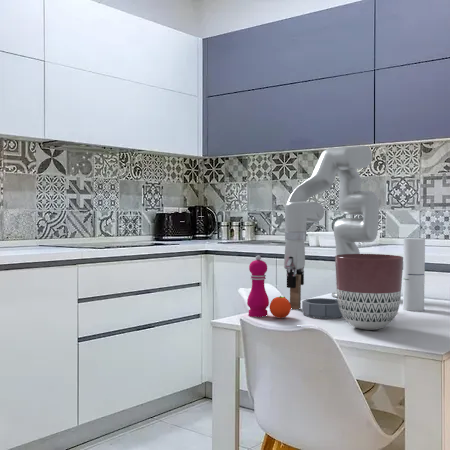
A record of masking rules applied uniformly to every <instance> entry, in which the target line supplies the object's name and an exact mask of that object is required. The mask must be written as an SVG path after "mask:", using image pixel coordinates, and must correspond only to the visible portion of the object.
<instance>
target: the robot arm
mask: <svg viewBox="0 0 450 450" xmlns="http://www.w3.org/2000/svg"><path fill="white" fill-rule="evenodd" d="M372 160H373V153H372V150H371V149H370V147H369V146H366V145H354V146H353V145H352V146H340V147H331V148H326V149H325V150H323V151H322V152H321V153H320V156H319V157H318V160H317V162H316V164H315V166H314V169H313V171H312V172H311V175H310V177H309V178H307V179H306V180H304V181H303V182H302V183H301V184H300V185H298V186H297V187H296V188H295V189H294V190H293V191H292V193H291V194H290V195H289V198H288V200H287V203H285V205H284V220H285V221H284V242H285V244H284V245H285V246H284V247H285V248H284V261H283V267H284V270H286V288H288V289H290V288H296V276H295V274H296V275H301V286H303V285H304V284H305V277H304V276H305V270H304V269H305V266H306V251H305V250H306V247H305V246H306V245H305V242H307V224H308V223H318V222H320V221H321V220H322V219H323V218H324V216H325V208H324V206H323V205H322V204H321V203H320V202H318V201H308V200H309V199H310V198H312V197H315V196H317V195H320V194H322V193H324V192H326V191H329V190H330V189H331V188H332V186H333V184H334V181H335V179H336V177H337V176H338V179H339V191H338V192H339V194H338V209H339V212H340V213H341V214H344V215H348V216H349V215H350V216H351V215H352V216H353V215H355V216H356V215H357V216H362V218H360V217H344V218H340V219H337V220H336V221H335V223H334V225H333V237H334V241H335V256H336V255H341V254H361V253H360V252H361V251H360V249H359V247H358V245H357V244H356V243H373V242H374V241H375V240H376V239H377V236H378V233H379V232H378V231H379V215H380V213H379V212H380V203H379V201H380V200H379V198H378V197H379V196H378V195H377V193H375V192H374V191H372V190H371V191H370V190H362V179H361V176H360V173H359V172H358V171H357V170H359V169H364V168H367V167H369V166H370V164H371V163H372ZM331 296H332V297H333V298H337V286H336V285H335V291H333V292H331Z"/></svg>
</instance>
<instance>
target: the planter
mask: <svg viewBox="0 0 450 450" xmlns="http://www.w3.org/2000/svg"><path fill="white" fill-rule="evenodd" d="M403 258H404V256H401V255H395V254H394V255H393V254H382V253H360V254H341V255H336V254H335V256H334V259H335V260H334V261H335V262H334V263H335V287H336V286H337V297H336V299H337V301H338V306H339V309H340V312H341V314H342V317H343V319H345V321H346V322H347V323H349V325H351V326H353V327H354V328H357V329H359V330H366V331H375V330H381V329H383V328H386V326H388V325H390V324H391V323H392V321H394V319H395V318H396V317H397V314H398V312H399V309H400V305H401V297H402V288H403V284H402V283H403Z"/></svg>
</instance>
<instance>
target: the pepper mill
mask: <svg viewBox="0 0 450 450" xmlns="http://www.w3.org/2000/svg"><path fill="white" fill-rule="evenodd" d="M248 271H249V272H250V273H251V274H250V280H251V290H250V291H249V295H248V296H247V297H248V298H247V300H246V301H247V302H246V304H247V306H248V308H249V309H248V316H249V317H250V318H251V317H252V318H263V317H262V316H266V315H267V316H268V310H267V308H268V307H269V306H270V299H269V296H268V294H267V291H266V288H265V280H266V277H267V275H266V273H267V271H268V265H267V263H266V262H265V261H264V260H262V257H261V255H256V256H255V260H252V261H251V262H250V264H249V266H248ZM267 316H266V317H267Z"/></svg>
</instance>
